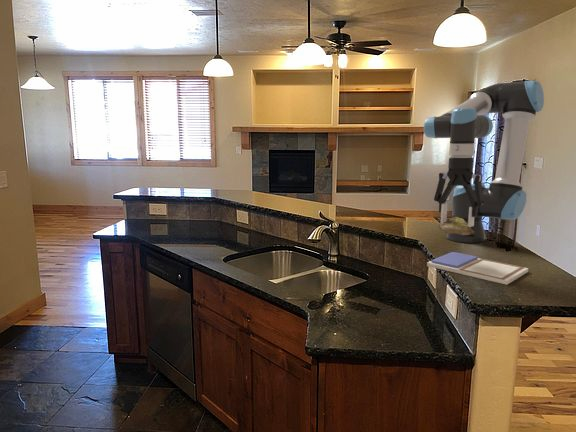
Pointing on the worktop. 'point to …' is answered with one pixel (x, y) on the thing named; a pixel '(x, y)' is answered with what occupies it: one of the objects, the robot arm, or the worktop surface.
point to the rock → (456, 226)
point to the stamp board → (478, 267)
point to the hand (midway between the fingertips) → (456, 224)
